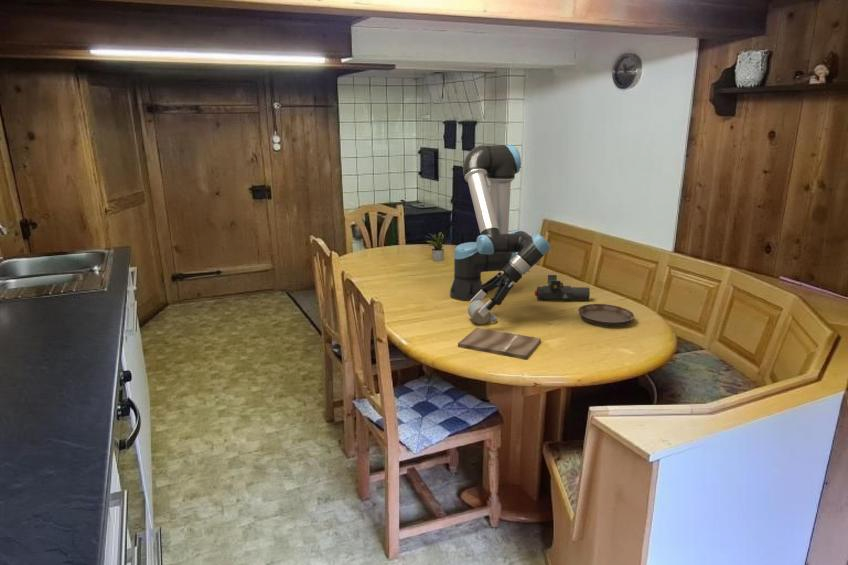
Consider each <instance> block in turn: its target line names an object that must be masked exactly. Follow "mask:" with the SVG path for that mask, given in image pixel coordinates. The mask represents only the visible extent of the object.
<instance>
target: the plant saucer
mask: <svg viewBox="0 0 848 565" xmlns="http://www.w3.org/2000/svg"><path fill="white" fill-rule="evenodd" d="M577 311H578V312H577V313H578V314H579V316H580V317H581V318H582V320H584V321H585V322H587V323H589V324H591V325H593V326H599V327H605V328H617V327H623V326H625V325H627V324H629V323H630V322H631V321H633V319H634V318H635V314H634V313H633V312H632V311H631V310H629V309H627V308H625V307H622V306H618V305H613V304H604V303H592V304H591V303H590V304H589V303H588V304H585V305H582V306H580V307H579V308H577Z"/></svg>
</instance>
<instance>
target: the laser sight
mask: <svg viewBox="0 0 848 565" xmlns="http://www.w3.org/2000/svg"><path fill="white" fill-rule="evenodd" d="M590 295H591V290H590V288H589V287H588V286H587V287H581V286H580V287H579V286H575V287H574V286H571V285H564V283H563V281H561V280H558V276H557V275H556V274H548V275H547V285H543V286H537V287H536V290H535V291H534V296H535V297H536V299H537V301H541V300H543V302H544V301H545V302H571V301H589V300H590Z"/></svg>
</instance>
